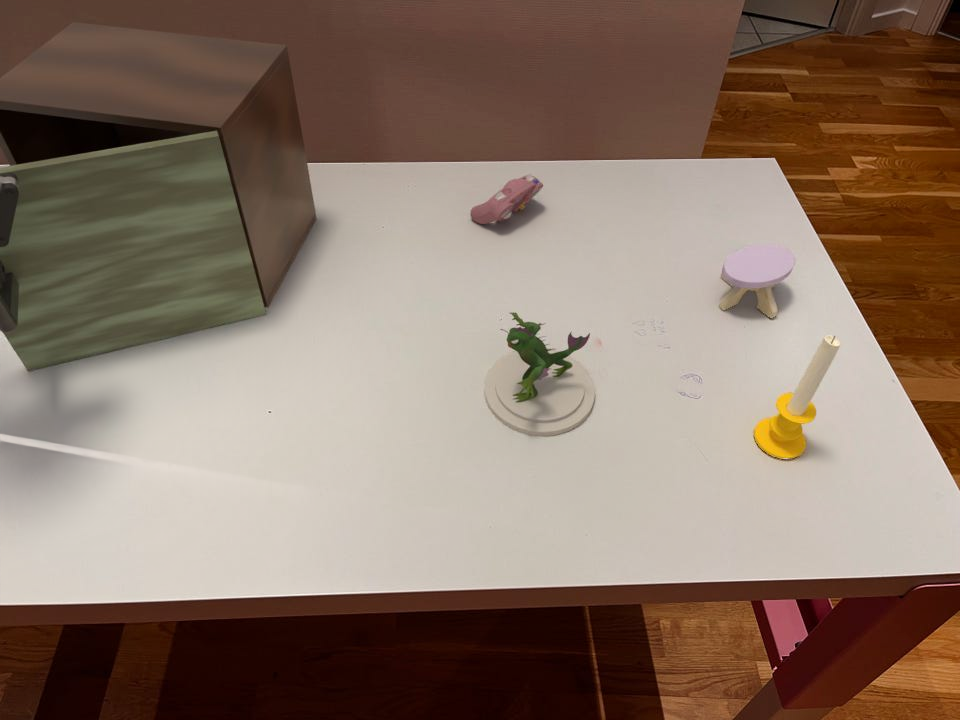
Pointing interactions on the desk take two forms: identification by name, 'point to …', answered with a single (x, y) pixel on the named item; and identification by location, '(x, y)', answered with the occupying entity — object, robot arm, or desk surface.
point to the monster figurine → (539, 384)
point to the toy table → (756, 274)
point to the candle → (796, 408)
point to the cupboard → (173, 118)
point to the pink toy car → (507, 200)
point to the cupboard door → (124, 250)
